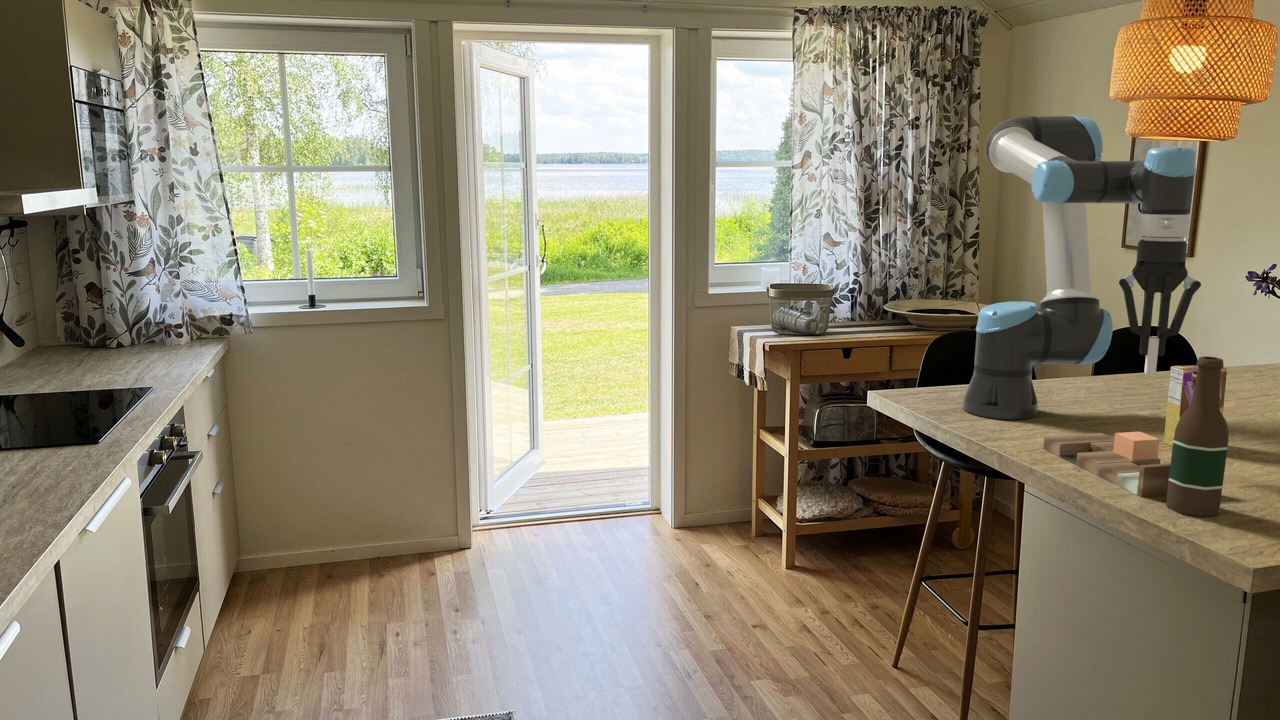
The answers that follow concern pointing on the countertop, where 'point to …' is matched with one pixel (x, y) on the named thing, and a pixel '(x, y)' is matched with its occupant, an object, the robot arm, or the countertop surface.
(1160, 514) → the countertop surface
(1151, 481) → the board
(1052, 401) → the countertop surface
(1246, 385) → the countertop surface
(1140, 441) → the block
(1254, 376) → the countertop surface
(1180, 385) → the candy box
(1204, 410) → the beer bottle
